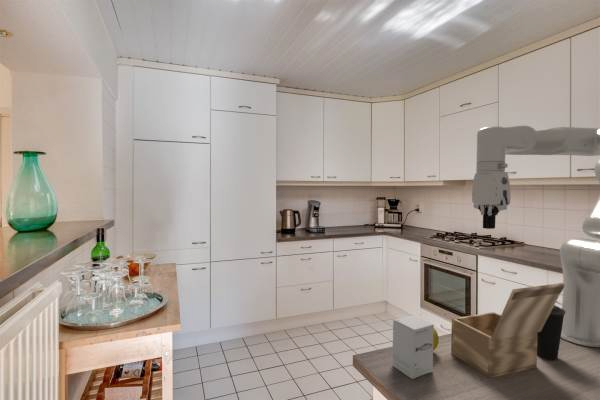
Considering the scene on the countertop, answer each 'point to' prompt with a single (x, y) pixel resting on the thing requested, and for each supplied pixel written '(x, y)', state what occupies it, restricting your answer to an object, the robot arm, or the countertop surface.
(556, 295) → the lid flap
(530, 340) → the light brown boxy piece
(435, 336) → the lemon
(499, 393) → the countertop surface
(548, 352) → the drinking cup
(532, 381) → the countertop surface
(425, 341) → the supplement box
